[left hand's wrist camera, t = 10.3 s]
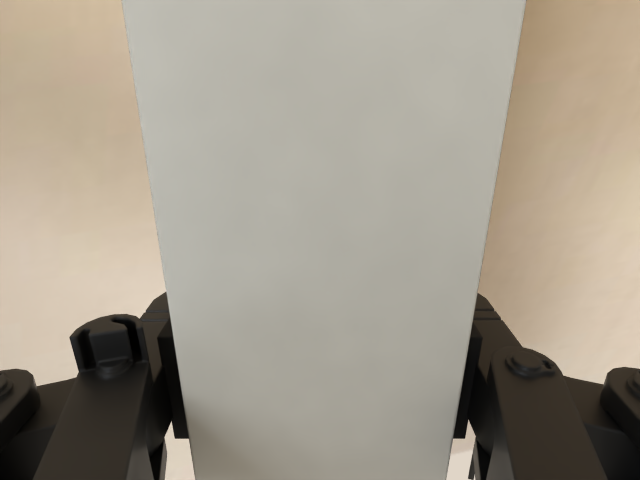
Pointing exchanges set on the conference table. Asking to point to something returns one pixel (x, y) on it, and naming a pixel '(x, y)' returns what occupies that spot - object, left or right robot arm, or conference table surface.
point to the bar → (322, 221)
